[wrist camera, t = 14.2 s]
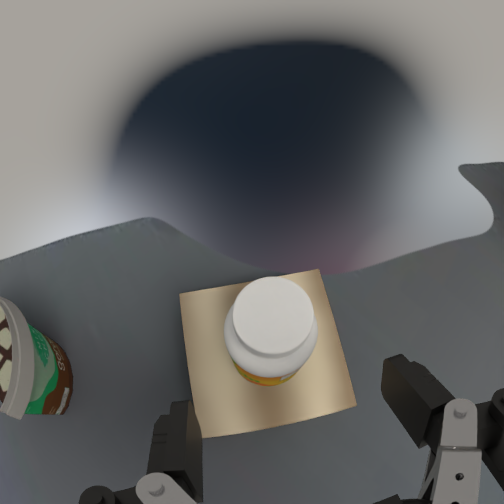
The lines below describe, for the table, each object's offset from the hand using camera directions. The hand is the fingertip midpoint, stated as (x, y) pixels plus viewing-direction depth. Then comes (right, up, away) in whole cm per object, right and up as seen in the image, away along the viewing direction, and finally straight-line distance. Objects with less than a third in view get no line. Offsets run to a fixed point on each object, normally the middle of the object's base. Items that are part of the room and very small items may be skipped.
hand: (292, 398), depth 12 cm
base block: (-1, -3, +15) cm, 15 cm away
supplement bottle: (0, -2, +12) cm, 12 cm away
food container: (-22, -5, +14) cm, 26 cm away
